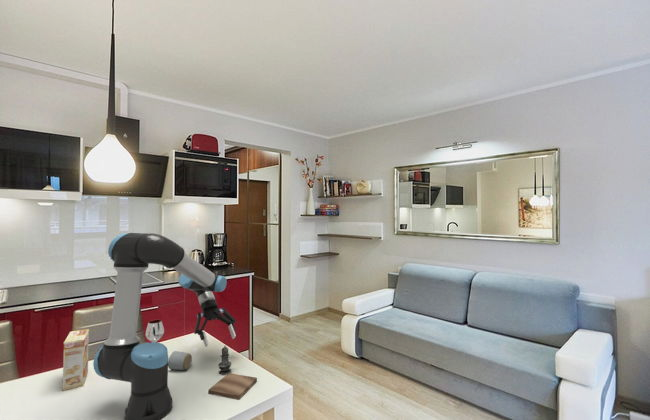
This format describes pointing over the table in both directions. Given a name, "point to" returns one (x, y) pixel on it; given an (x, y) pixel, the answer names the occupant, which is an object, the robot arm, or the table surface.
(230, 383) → the walnut board
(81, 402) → the table surface
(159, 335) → the wineglass
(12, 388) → the table surface
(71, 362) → the coffeecake box
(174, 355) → the ceramic mug
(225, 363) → the weathered metal finial
